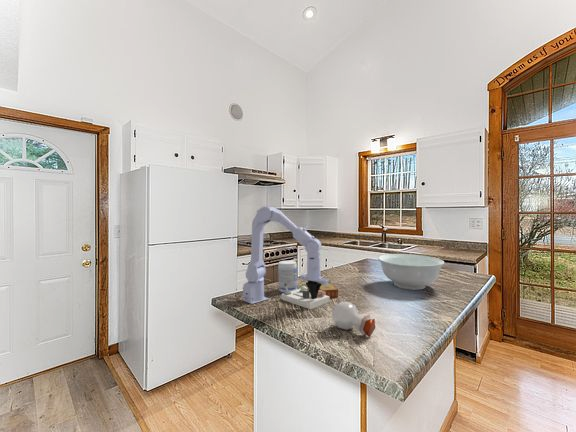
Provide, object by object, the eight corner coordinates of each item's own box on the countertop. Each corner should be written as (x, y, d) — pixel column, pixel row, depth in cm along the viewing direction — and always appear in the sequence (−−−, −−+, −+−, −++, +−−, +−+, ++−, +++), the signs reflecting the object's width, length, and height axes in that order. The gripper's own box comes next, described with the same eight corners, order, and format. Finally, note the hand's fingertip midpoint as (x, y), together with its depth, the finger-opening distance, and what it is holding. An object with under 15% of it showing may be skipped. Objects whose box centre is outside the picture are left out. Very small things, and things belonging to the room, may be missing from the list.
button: (303, 292, 135) (303, 287, 134) (299, 290, 137) (299, 286, 137) (307, 290, 136) (307, 286, 136) (303, 289, 138) (303, 285, 138)
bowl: (457, 295, 137) (458, 264, 136) (389, 295, 137) (389, 265, 137) (426, 278, 169) (426, 253, 168) (371, 278, 169) (371, 253, 169)
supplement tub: (298, 292, 143) (298, 263, 142) (279, 293, 141) (279, 264, 141) (295, 287, 152) (295, 260, 152) (277, 288, 151) (277, 260, 150)
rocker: (316, 294, 126) (317, 290, 126) (310, 292, 129) (311, 289, 129) (325, 294, 130) (325, 291, 130) (319, 293, 133) (319, 289, 133)
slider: (305, 298, 125) (305, 291, 125) (302, 297, 127) (302, 290, 127) (309, 297, 127) (309, 290, 127) (306, 296, 128) (306, 289, 128)
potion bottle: (335, 326, 106) (370, 345, 95) (322, 317, 100) (358, 336, 89) (345, 303, 109) (381, 319, 98) (333, 293, 103) (370, 309, 92)
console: (310, 309, 120) (309, 298, 120) (281, 299, 133) (281, 290, 133) (329, 301, 129) (329, 292, 129) (301, 293, 142) (300, 284, 142)
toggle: (287, 291, 132) (285, 283, 133) (285, 291, 133) (283, 283, 134) (289, 290, 133) (287, 282, 134) (287, 290, 134) (285, 283, 135)
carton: (321, 299, 134) (321, 290, 134) (314, 289, 150) (313, 281, 150) (338, 298, 135) (338, 289, 135) (329, 288, 151) (329, 280, 151)
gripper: (333, 268, 120) (333, 300, 121) (307, 263, 131) (308, 292, 132) (322, 271, 116) (322, 304, 116) (296, 265, 126) (297, 296, 127)
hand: (314, 298), depth 123 cm, fingers closed
